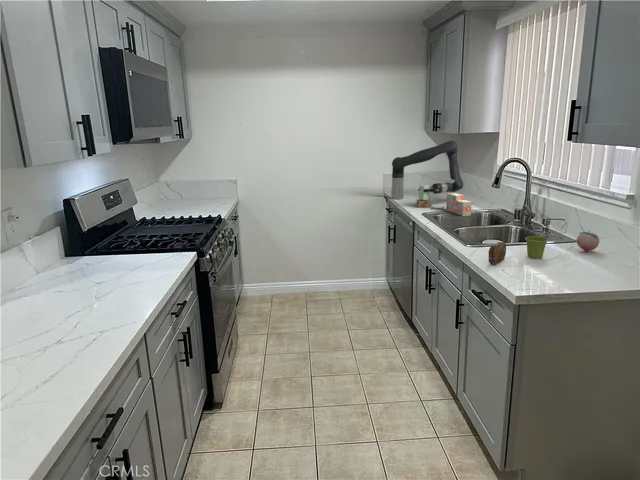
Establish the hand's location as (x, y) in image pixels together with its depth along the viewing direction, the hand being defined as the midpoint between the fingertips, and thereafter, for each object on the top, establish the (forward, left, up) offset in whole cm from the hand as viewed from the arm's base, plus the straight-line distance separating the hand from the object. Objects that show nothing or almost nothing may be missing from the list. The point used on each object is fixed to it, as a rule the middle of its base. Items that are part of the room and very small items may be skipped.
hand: (421, 190), depth 319 cm
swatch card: (+12, -2, -12) cm, 18 cm away
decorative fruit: (+87, -97, -13) cm, 131 cm away
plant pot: (+63, -112, -13) cm, 129 cm away
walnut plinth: (+2, +2, -13) cm, 13 cm away
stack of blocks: (+27, -16, -13) cm, 34 cm away
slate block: (+1, +14, -12) cm, 19 cm away
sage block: (+2, +2, -7) cm, 7 cm away
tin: (+47, -123, -13) cm, 132 cm away
